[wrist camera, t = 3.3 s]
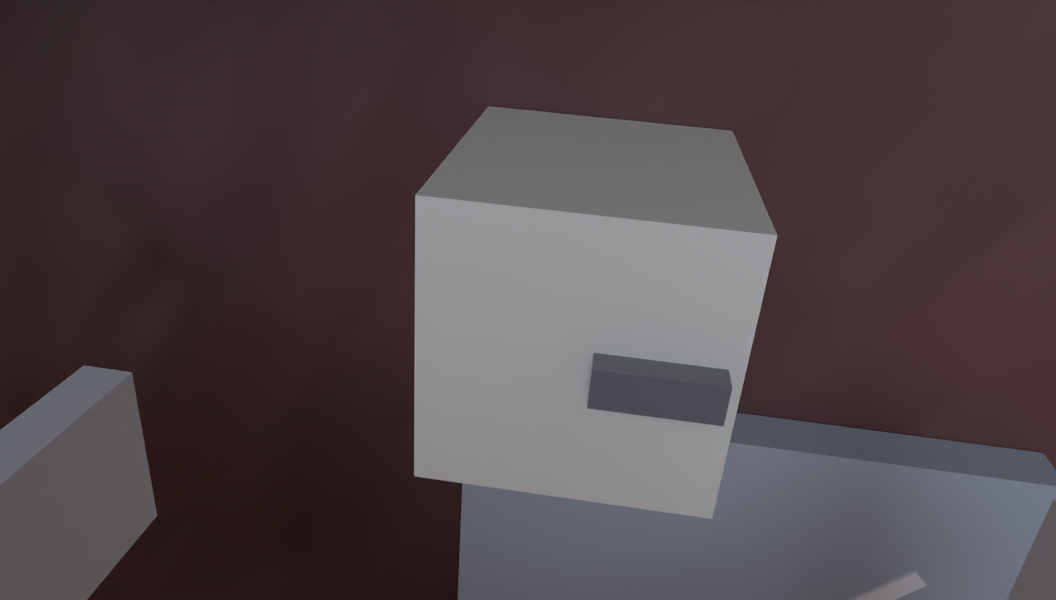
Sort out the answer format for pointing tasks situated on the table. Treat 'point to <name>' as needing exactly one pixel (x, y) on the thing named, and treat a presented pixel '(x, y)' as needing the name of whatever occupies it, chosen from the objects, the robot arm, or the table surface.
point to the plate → (778, 526)
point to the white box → (586, 308)
